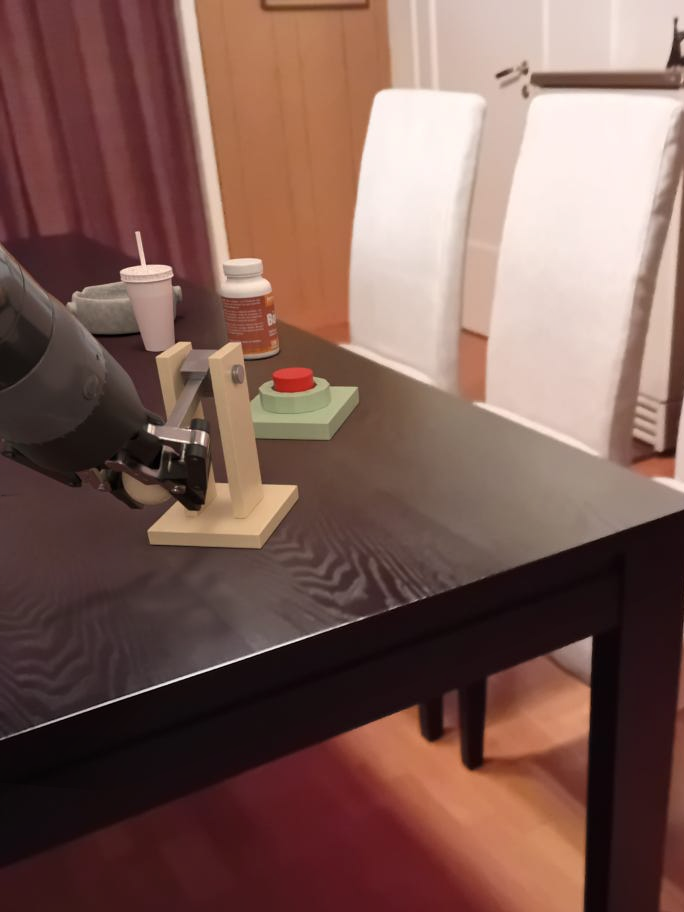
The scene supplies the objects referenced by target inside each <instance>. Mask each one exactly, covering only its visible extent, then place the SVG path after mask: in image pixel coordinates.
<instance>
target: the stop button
mask: <svg viewBox="0 0 684 912" xmlns="http://www.w3.org/2000/svg"><path fill="white" fill-rule="evenodd" d="M313 377H314V372H313V370H312V369H311V368H307V367H297V366H296V367H287V368H281V369H278V370H276V371H274V372H273V373H272V380H273V383H274V390H275V391H276V392H281V393H296V392H303V391H307V390H310V389H313V388H314V380H313Z"/></svg>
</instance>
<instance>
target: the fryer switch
mask: <svg viewBox="0 0 684 912" xmlns="http://www.w3.org/2000/svg"><path fill="white" fill-rule="evenodd" d="M190 350H193V346H192V342H191V341H178V342H177V343H175V345H174V346H172V347H171V348H169V349H167V350H165V351H162V352H161V353H160V354H158V355H157V356H155V362H156V368H157V374H158V378H159V383H160V388H161V394H162V399H163V406H164V409H165V414H166V421H167V420H168V418H169V416H170V414H171V412H172V411H173V409H174V407H175V405H176V403H177V401H178V399H179V397H180V395H181V393H182V391H183V389H184V388H185V386H184V383H183V380H182V377H181V374H180V369H181V367H182V365H183V363H184V361H185V359H186V357H187V356H188V354H189V352H190ZM217 350H218V351H217V352H215V353H214V354H213V355H211V356H210V357H209V358H208V361H209V367H210V374H211V380H212V386H213V392H214V403H215V404H214V405H215V409H216V416H217V422H218V428H219V434H220V441H221V447H222V453H223V459H224V465H225V471H226V477H227V482H216V480H215V475H214V469H213V461H211V467H210V474H209V480H208V487H207V493H206V500H205V505H202V506H201V510H200V511H189V510H187V509H186V508H185V507H184V506H183V505H182V504H181V503H180V502H179V501H178V500H176V501H175V503H173V505H172V506H170V507H169V509H167V510H166V511H165V512H164V513H163V515H161V516H160V517H159V518H158V519H157V521H155V522H154V523H153V524H152V525H151V526H150V527H149V528H148V529H147V530H146V532H147V536H148V540H149V541H148V542H149V545H155V546H156V545H158V546H159V545H160V546H180V547H181V546H182V547H184V546H185V547H208V548H211V547H212V548H233V549H236V548H237V549H262V547H264V545H265V544H266V543H267V541H268V540H269V538H270V537H271V536H272V535H273V533H274V532H275V531H276V529H277V528H278V527H279V525H280V524H281V523H282V521H283V520H284V519H285V517H286V516H287V515H288V513H289V512H290V511H291V509H292V508H293V507H294V505H295V504H296V503H297V501H298V500H299V498H300V497H299V488H298V485H297V484H295V485H294V484H265V483H263V484H262V477H261V470H260V461H259V456H258V449H257V442H256V438H255V434H254V427H253V420H252V414H251V407H250V402H251V400H250V393H249V386H248V380H247V379H248V378H247V372H246V365H245V359H243V352H242V345H241V343H240V342H229V343H228V342H227V343H226V344H225V345H224V346H222V347H220V348H219V349H217ZM195 418H199V419H204V420H205V416H204V409H203V404H202V401H201V402H200V404H199V406H198V408H197V410H196V412H195V414H194V416H193V418H192V419H195ZM190 423H191V422H190ZM189 426H190V424H189Z"/></svg>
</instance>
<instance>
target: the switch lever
mask: <svg viewBox="0 0 684 912" xmlns="http://www.w3.org/2000/svg"><path fill="white" fill-rule="evenodd" d="M218 350H219V349H192V350H190V352H189V354H188V356H187V357H186V359H185V361H184V363H183V365H182V367H181V369H180V374H181V377H182V380H183V383H184V386H185V388H184V389H183V391H182V393H181V395H180V397H179V399H178V401H177V403H176V405H175V407H174V409H173V411H172V412H171V414H170V416H169V418H168V420H167V419H166V422H165V425H166V426H172V427H177V428H183V429H184V426H189V424H190V422H191V420H192V418H193V416H194V414H195V412H196V410H197V408H198V406H199V404H200V402H201V403H202V400H203V398H207V399H213V398H214V392H213V386H212V380H211V374H210V367H209V361H208V358H209V357H210V356H211V355H213V354H214V353H215V352H217V351H218ZM214 399H215V398H214ZM170 463H171V462H170V461H169V465H168V472H169V469H170ZM122 483H123V486H124V488H125V490H126V492H127V493H128V495H129V496H130V497H132V498H133V499H134V500H136V501H137V502H139V503H142V504H145V505H146V506H147V505H148V506H156V505H160V504H163V503H165V502H166V501H168V500H170V498H172V497H173V496H172V495H171V494H170V493H169V491H168V490H166V489H164V488H163V487H161V486H159V485H145V484H143V483H141V482H140V481H138V480H136V479H135V478H133V477H131V476H130V475H128V474H126V473H125V472H122Z"/></svg>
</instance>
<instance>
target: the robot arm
mask: <svg viewBox="0 0 684 912" xmlns="http://www.w3.org/2000/svg"><path fill="white" fill-rule="evenodd" d="M165 424H166V422H165V421H164V418H162V417H161V416H160V415H159V414H158V413H155V412H153V411H151V410H150V409H147V408H146V407H144V405H143V403H142V402H141V399H140V397H139V393H138V391H137V389H136V386H135V384H134V381H133V380H132V378H131V377H130V375H129V374H128V372H127V371H126V370H125V368H123V367H122V365H121V364H119V362H118V361H117V360H116V358H114V357H113V355H111V354H110V352H109V351H108V350H107V349H106V348H105V347H104V346H103V345H102V344H101V343H100V341H99V340H98V339H97V338H96V337H95V336H94V334H91V333H90V332H89V331H88V330H87V329H86V328H85V326H84V325H83V324H82V323H81V322H80V321H79V320H78V319H77V318H76V317H75V315H74V314H73V313H72V312H71V311H70V310H69V309H68V308H67V307H66V305H65V304H63V303H62V302H61V301H60V300H58V298H56V297H55V296H53V295H52V294H51V293H50V292H48V291H47V290H46V289H44V288H43V286H41V284H40V283H39V282H38V281H37V280H36V279H35V278H34V277H33V276H32V275H31V274H30V273H29V272H28V270H27V269H26V268H25V267H24V266H23V265H22V264H21V263H20V261H18V260H17V259H16V258H15V256H13V254H12V253H10V251H9V250H8V249H7V248H6V247H5V246H4V245H3V244H2V242H1V241H0V439H1V447H0V455H1V456H3V457H5V458H7V459H9V460H11V461H13V462H16V463H17V464H20V465H22V466H25V467H26V468H28V469H31V470H32V471H35V472H37V473H39V474H42V475H44V476H45V477H48V478H50V479H52V480H54V481H56V482H59V483H61V484H63V485H65V486H67V487H70V488H82V487H83V483H87V484H88V483H89V484H90V485H91V487H92V489H94V490H96V491H99V492H102V493H106V492H107V493H109V494H111V495H112V496H113V497H115V498H116V499H117V500H118V501H120V502H122V503H124V504H125V505H126V506H127V507H128V508H130V509H131V510H143V509H144V508H145V505H146V504H142V503H139V502H137V501H136V500H134V499H133V498H132V497H130V496H129V495H128V493H127V492H126V490H125V488H124V486H123V483H122V472H125V473H126V474H128V475H130V476H131V477H133V478H135V479H136V480H138V481H140V482H141V483H143V484H145V485H159V486H161V487H163V488H164V489H166V490H168V491H169V493H170V494H171V495H172V496H171V497H173V498H174V499H176V501H179V502H180V503H181V504H182V505H183V506H184V507H185V508H186V509H187V510H189V511H200V510H201V506H202V505H205V500H206V493H207V487H208V480H209V474H210V467H211V462H213V461H212V460H213V438H212V437H213V436H212V423H211V422H210V421H208V420H206V419H205V418H204V419H199V418H195V419H192V420H191V423H190V426H184V429H183V428H177V427H172V426H166V425H165ZM169 461H170V462H171V463H170V469H169V472H168V465H169Z"/></svg>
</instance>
